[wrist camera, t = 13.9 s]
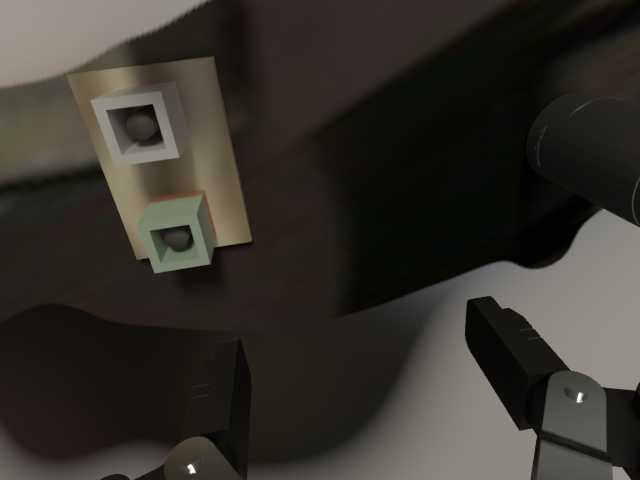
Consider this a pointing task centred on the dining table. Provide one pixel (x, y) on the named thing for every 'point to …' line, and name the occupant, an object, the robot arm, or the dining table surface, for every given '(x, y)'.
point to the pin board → (178, 173)
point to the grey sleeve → (118, 109)
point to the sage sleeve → (171, 214)
